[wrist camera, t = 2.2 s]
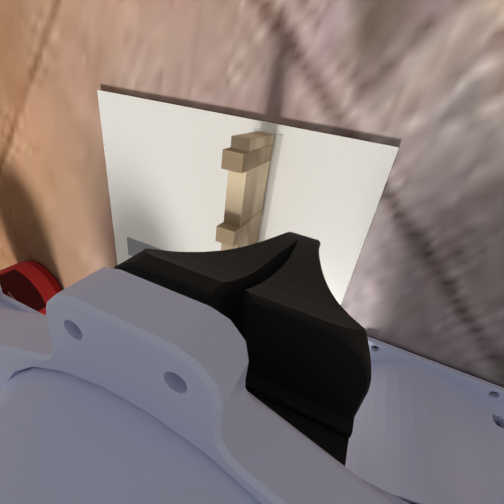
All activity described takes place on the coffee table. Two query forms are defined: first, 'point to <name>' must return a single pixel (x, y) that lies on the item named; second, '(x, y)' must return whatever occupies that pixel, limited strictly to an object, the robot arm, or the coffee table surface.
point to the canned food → (29, 284)
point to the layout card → (215, 179)
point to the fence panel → (244, 188)
